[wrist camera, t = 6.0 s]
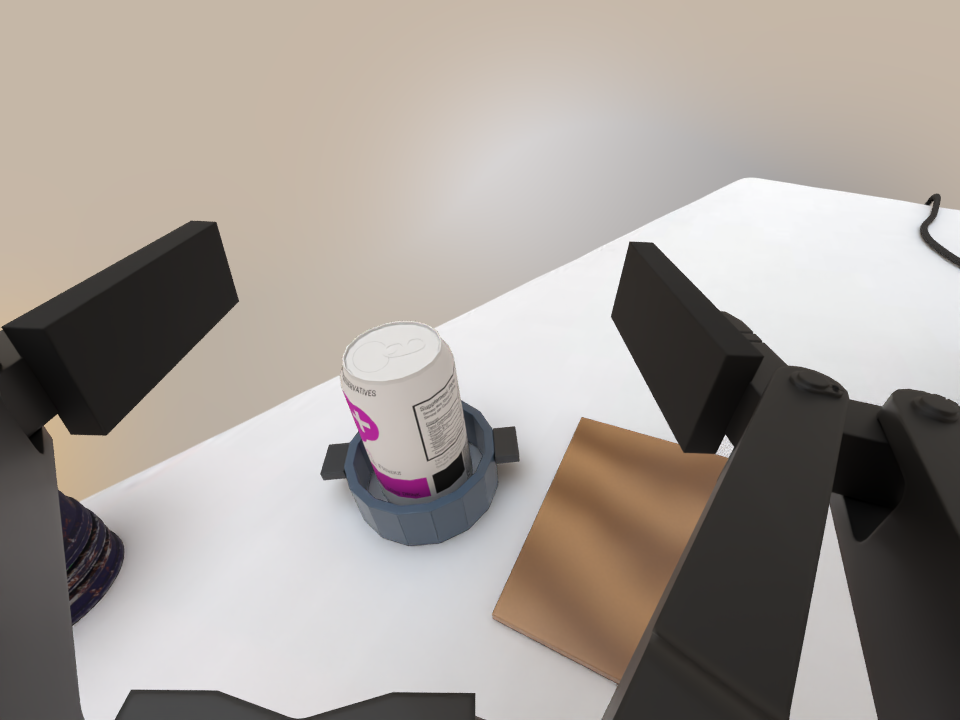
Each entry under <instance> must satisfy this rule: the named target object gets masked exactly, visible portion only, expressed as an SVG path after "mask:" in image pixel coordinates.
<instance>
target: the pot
mask: <svg viewBox="0 0 960 720" xmlns="http://www.w3.org/2000/svg"><path fill="white" fill-rule="evenodd" d="M461 404H462V409H463V415H464V421H465V427H466V433H467V439H468V441H469V442H470V443H472V444H473V445H475V446H476V447H478V449H479V450H480V452H481V453H482V455H483V456H482V459H481V461H480V463H479V465H478V468H477V470H476V472H475V473H474V474H473V475H472V476H471V477H470V478H469V479H468V480H467V481H466V482H465V483H464V484H463V485H462V486H460V487H459V488H458V489H457V490H456V491H454V492H452V493H450V494H448V495H445V496H443V497H441V498H439V499H436V500H434V501H432V502H430V503H423V504H412V505H402V506H400V505H397V504H393V503H390V502H386V501H383V500H379V499H376V498H374V497H373V496H372V495H371V494H370V493H369V492H368V486H369V481H370V476H371V474H372V473H373V471H374V469H373V466H372V464H371V461H370V459H369V456H368V454H367V451H366V449H365V446H364V443H363V441H362V438H361V436H360V433H359V431H358V433H357V434H356V435H355V437H354V438H353V439H352V441H351V442H350V443H342V444H332V445H329V447H328V450H327V453H326V457H325V460H324V463H323V467H322V470H321V473H320V474H321V476H322V478H323V480H332V479H342V478H347V481H348V484H349V488H350V490H351V492H352V495H353V497H354V499H355V501H356V503H357V505H358V507H359V509H360V512H361V514H362V516H363V518H364V520H365V521H366V522H367V523H368V524H369V525H370V526H371V527H372V528H373V529H374V530H375V531H376V532H377V533H378V534H379V535H380V536H381V537H383V538H386V539H389V540H392V541H395V542H398V543H402V544H405V545H408V546H409V545H410V546H413V545H424V544H434V543H441V542H443V541H445V540H448V539H450V538H452V537H454V536H456V535H458V534H460V533H462V532H464V531H466V530H468V529H469V528H470V527H471V526H472V525H473V524H474V523H475V522H476V521H477V520H478V519H479V518H480V517H481V516H482V515H483V514H484V513H485V512H486V511H487V510H488V508H489V507H490V504H491V501H492V499H493V496H494V494H495V491H496V488H497V486H498V476H497V465H496V464H498V463H509V462H519V450H518V443H517V436H516V429H515V426H514V427H504V428H494V429H493V430H492V428H491V427H490V425H489V424H488V422H487V421H486V419H485V418H484V416H483V415H482V413H481V412H480V411H478V410H477V409H475V408H473V407H472V406H470V405H468V404H467V403H465V402H463V401H461Z"/></svg>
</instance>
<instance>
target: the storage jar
mask: <svg viewBox="0 0 960 720" xmlns="http://www.w3.org/2000/svg"><path fill="white" fill-rule="evenodd" d="M58 497H59V506H60V516H61V525H62V535H63V545H64V554H65V564H66V573H67V583H68V592H69V602H70V611H71V621H72V625H73V624H74V623H76V622H77V621H78V620H79V619H80V618H82V617H83V616H84V615H85V614H86V613H87V612H88V611H89V610H90V609H91V608H92V607H94V606H95V604H96V603H97V602H98V601H99V600H100V599H101V598H102V597H103V595H104V594H105V593H106V591H107V590H108V589H109V587H110V586H111V585H112V583H113V581H114V580H115V578H116V576H117V574H118V572H119V570H120V568H121V565H122V562H123V557H124V546H123V543H122V541H121V539H120V538H119V537H118V536H117V535H116V534H115V533H113V532H112V531H110V530H109V529H108V528H107V527H106V525H104V522H103V521H102V520H101V519H100V518H99V517H98V516H97V515H96V514H94V513H93V512H92V511H90V510H89V509H87V508H85V507H84V506H83V505H82V504H80V503H79V502H78V501H77V500H75V499H74V498H72V497H68V496H65V495H64V494H63V493H62V492H61V491H59V490H58Z"/></svg>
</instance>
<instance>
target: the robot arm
mask: <svg viewBox="0 0 960 720" xmlns="http://www.w3.org/2000/svg"><path fill="white" fill-rule="evenodd" d="M940 200H941V197H940V195H939V194H934V195H932V196H931V197H930V198H929V199H928V201H927V202H926V203H925V204H924V205H928V206H930V205H931V203H932V202H933V201H934V203H933V208H932V211H931V214H930V216H929V217H928V218H927V219H926V220H925V221H924V222H923V223H922V225H921V228H920V232H921V235H922V237H923V238H924V240H925V241H926V242H927V243H928V244H929V245H930V246H931V247H932V248H934V249H935V250H936V251H937V252H939V253H940V254H941V255H943V256H944V257H946V258H947V259H949V260H950V261H952V262H953V263H955V264H957V265H959V266H960V258H959V257H957V256H956V255H954V254H953V253H951V252H950V251H948V250H947V249H945V248H944V247H943V246H941V245H940V244H939V243H937V242H936V241H935V240H934V239H933V238H932V237H931V236H930V234H929V232H928V229H927V227H928V225H929V224H930V223H931V222H932V221H933V220H934V219H935V218H936V216H937V213H938V209H939V205H940ZM238 302H239V300H238V297H237V293H236V289H235V286H234V282H233V279H232V275H231V272H230V268H229V265H228V261H227V258H226V254H225V251H224V247H223V244H222V240H221V237H220V233H219V230H218V226H217V223H216V222H207V221H190V222H188V223H186V224H185V225H183V226H181V227H179V228H177V229H176V230H174V231H172V232H170V233H168V234H167V235H165V236H163V237H161V238H160V239H158V240H156V241H154V242H152V243H151V244H149V245H147V246H145V247H143V248H142V249H140V250H138V251H137V252H134V253H133V254H131V255H129V256H127V257H126V258H124V259H122V260H120V261H118V262H117V263H115V264H113V265H111V266H110V267H108V268H106V269H104V270H102V271H101V272H99V273H97V274H95V275H93V276H92V277H90V278H88V279H86V280H85V281H83V282H81V283H79V284H77V285H75V286H74V287H72V288H70V289H68V290H67V291H65V292H63V293H61V294H59V295H58V296H56V297H54V298H52V299H50V300H49V301H47V302H45V303H43V304H42V305H40V306H38V307H36V308H34V309H33V310H31V311H29V312H28V313H26V314H24V315H22V316H20V317H18V318H16V319H15V320H13V321H11V322H9V323H7V324H6V325H4V326H2V329H3V330H1V331H0V720H84V717H83V714H82V710H81V705H80V698H79V688H78V678H77V669H76V659H75V650H74V640H73V631H72V621H71V611H70V602H69V592H68V583H67V573H66V564H65V554H64V545H63V535H62V525H61V516H60V506H59V497H58V487H57V478H56V468H55V458H54V449H53V439H52V437H51V436H50V434H49V433H48V432H47V430H46V429H45V427H44V425H45V424H46V423H47V422H48V421H50V419H52V418H53V417H54V416H55V415H57V414H58V415H59V417H60V418H61V420H62V421H63V423H64V425H65V426H66V428H67V429H68V431H69V432H70V434H71V435H73V434H74V435H107V434H108V433H109V432H110V431H111V430H112V429H113V428H114V427H115V426H116V425H117V424H118V423H119V422H120V421H121V420H122V419H123V418H124V417H125V416H126V415H127V414H128V413H129V412H130V411H131V410H132V409H133V408H134V407H135V406H136V405H137V404H138V403H139V402H140V401H141V400H142V399H143V398H144V397H145V396H146V395H147V394H148V393H149V392H150V391H151V390H152V389H153V388H154V387H155V386H156V385H157V384H158V383H159V382H160V381H161V380H162V379H163V378H164V377H165V376H166V374H167V373H168V372H170V371H171V370H172V369H173V368H174V367H175V366H176V364H178V362H179V361H180V360H181V359H182V358H183V357H184V356H185V355H186V354H187V353H188V352H189V351H190V350H191V349H192V348H193V347H194V346H195V345H196V344H197V343H198V342H199V341H200V340H201V339H202V338H203V337H204V336H205V335H206V334H207V333H208V332H209V331H210V330H211V329H212V328H213V327H214V326H215V325H216V324H217V323H218V322H219V321H220V320H221V319H222V318H223V317H224V316H225V315H226V314H227V313H228V312H229V311H230V310H231V309H232V308H233V307H234V306H235V305H236V304H237V303H238ZM611 318H612V320H613V321H614V323H615V325H616V327H617V329H618V331H619V333H620V335H621V336H622V338H623V340H624V342H625V344H626V346H627V348H628V350H629V351H630V353H631V355H632V357H633V359H634V361H635V363H636V365H637V366H638V368H639V370H640V372H641V374H642V376H643V378H644V380H645V382H646V383H647V385H648V387H649V389H650V391H651V393H652V395H653V397H654V398H655V400H656V402H657V404H658V406H659V408H660V410H661V412H662V413H663V415H664V417H665V419H666V421H667V423H668V425H669V427H670V429H671V430H672V432H673V434H674V436H675V438H676V440H677V442H678V444H679V445H680V447H681V449H682V451H683V453H700V454H716V452H717V450H718V448H719V446H720V444H721V442H722V440H723V438H724V436H725V434H726V436H727V437H728V439H729V440H730V442H731V443H732V445H733V446H734V449H733V451H732V453H731V454H730V456H729V458H728V460H727V462H726V464H725V466H724V468H723V470H722V471H721V473H720V475H719V477H718V479H717V483H716V485H715V487H714V489H713V491H712V493H711V495H710V497H709V499H708V501H707V503H706V506H705V508H704V510H703V512H702V514H701V516H700V518H699V520H698V522H697V524H696V526H695V528H694V530H693V532H692V534H691V536H690V538H689V541H688V543H687V545H686V547H685V549H684V551H683V553H682V555H681V557H680V559H679V561H678V563H677V565H676V567H675V569H674V571H673V573H672V576H671V578H670V580H669V582H668V584H667V586H666V588H665V590H664V592H663V594H662V596H661V598H660V600H659V602H658V604H657V606H656V609H655V611H654V613H653V615H652V617H651V619H650V621H649V623H648V625H647V627H646V629H645V631H644V633H643V635H642V637H641V639H640V641H639V644H638V646H637V648H636V650H635V652H634V654H633V656H632V658H631V660H630V662H629V664H628V666H627V668H626V670H625V672H624V674H623V676H622V679H621V681H620V683H619V685H618V687H617V689H616V691H615V693H614V695H613V697H612V699H611V701H610V703H609V705H608V707H607V709H606V711H605V713H604V716H603V718H602V720H789V717H790V709H791V704H792V698H793V693H794V688H795V683H796V677H797V672H798V667H799V661H800V656H801V651H802V646H803V640H804V635H805V630H806V624H807V619H808V614H809V609H810V603H811V598H812V593H813V587H814V582H815V577H816V572H817V566H818V561H819V556H820V550H821V545H822V540H823V535H824V529H825V524H826V519H827V514H828V508H829V503H830V508H831V512H832V517H833V521H834V525H835V530H836V534H837V539H838V543H839V548H840V552H841V557H842V561H843V566H844V570H845V574H846V579H847V583H848V588H849V592H850V597H851V601H852V606H853V610H854V615H855V619H856V623H857V628H858V632H859V637H860V641H861V646H862V650H863V655H864V659H865V664H866V668H867V672H868V677H869V681H870V686H871V690H872V695H873V699H874V704H875V708H876V713H877V717H878V720H960V406H958V404H957V403H956V402H954V401H952V400H950V399H947V400H946V398H945V397H942V396H940V395H937V394H930V393H927V392H924V391H918V390H912V389H898V390H896V391H895V392H893V393H892V394H891V396H890V397H889V398H888V400H887V401H886V402H885V404H884V405H883V406H877V405H873V404H868V403H864V402H859V401H854V400H850V399H849V396H848V392H847V391H846V390H845V389H844V388H843V386H842V385H841V384H839V383H838V382H836V381H835V380H833V379H832V378H830V377H828V376H826V375H824V374H822V373H819V372H817V371H814V370H811V369H807V368H803V367H797V366H788V365H787V364H786V363H785V362H784V361H783V360H782V359H780V358H779V357H778V356H777V355H776V354H775V353H774V352H773V351H772V350H771V349H770V348H769V347H768V346H767V345H766V344H765V343H762V340H761V339H760V338H759V337H758V336H757V335H756V334H753V331H752V330H751V329H750V328H749V327H748V326H747V325H746V324H744V323H743V322H742V321H741V320H739V319H737V318H736V317H734V316H732V315H730V314H728V313H727V312H723V311H719V310H718V309H717V308H716V307H715V306H714V305H713V303H712V302H711V301H710V300H709V299H708V298H707V297H706V296H705V295H704V294H703V293H702V292H701V291H700V290H699V289H698V288H697V287H696V286H695V285H694V284H693V283H692V282H691V281H690V280H689V279H688V278H687V277H686V276H685V275H684V274H683V273H682V272H681V271H680V270H679V269H678V268H677V267H676V266H675V265H674V264H673V263H672V262H671V261H670V260H669V259H668V258H667V257H666V256H665V255H664V254H663V253H662V252H661V250H660V249H659V248H658V247H657V246H656V245H655V244H654V243H648V242H629V246H628V250H627V254H626V258H625V262H624V266H623V270H622V274H621V278H620V282H619V286H618V290H617V294H616V298H615V302H614V306H613V310H612V314H611ZM115 720H485V719H482V718H480V717H477V716H475V693H407V692H392V693H389V694H385V695H382V696H379V697H375V698H372V699H369V700H365V701H362V702H358V703H355V704H352V705H348V706H345V707H341V708H338V709H335V710H331V711H328V712H324V713H321V714H318V715H314V716H311V717H307V718H302V719H296V718H290V717H287V716H285V715H282V714H279V713H277V712H274V711H271V710H268V709H266V708H263V707H260V706H258V705H255V704H252V703H249V702H247V701H244V700H241V699H239V698H236V697H233V696H230V695H228V694H225V693H222V692H220V691H208V690H131V691H130V693H129V695H128V696H127V698H126V700H125V702H124V704H123V706H122V707H121V709H120V711H119V713H118V715H117V717H116V718H115Z"/></svg>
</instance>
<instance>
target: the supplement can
mask: <svg viewBox="0 0 960 720" xmlns="http://www.w3.org/2000/svg"><path fill="white" fill-rule="evenodd" d="M340 380H341V388H342V390H343V393H344V395H345V398H346V400H347V403H348V405H349V408H350V410H351V413H352V416H353V418H354V421H355V423H356V426H357V428H358V431H359V433H360V436H361V438H362V441H363V443H364V446H365V449H366V451H367V454H368V456H369V459H370V461H371V464H372V466H373V469H374V471H375V474H376V477H377V479H378V482H379V484H380V487H381V489H382V492H383V494H384V496H385V498H386V499H387V500H388V502H390V503H393V504H397V505H400V506H402V505H412V504H423V503H430V502H432V501H434V500H436V499H439V498H441V497H443V496H445V495H448V494H450V493H452V492H454V491H456V490H457V489H458V488H459V487H460V486H462V485H463V484H464V483H465V482H466V481H467V480H468V479H469V478H470V477H471V476H472V462H471V456H470V450H469V444H468V439H467V433H466V427H465V421H464V415H463V409H462V404H461V398H460V392H459V386H458V380H457V374H456V368H455V363H454V357H453V354H452V352H451V350H450V348H449V346H448V344H447V343H446V342H445V341H444V340H443V339H442V338H441V337H440V336H439V334H438V331H436V330H435V329H433V328H432V327H430V326H429V325H427V324H423V323H419V322H415V321H398V322H391V323H386V324H382V325H379V326H377V327H374V328H371V329H369V330H367V331H365V332H364V333H362V334H361V335H359V336H357V337H356V338H355V339H354V340H353V341H352V342H351V343H350V344H349V345H348V346H347V347H346V350H345V352H344V354H343V365H342V369H341V372H340Z"/></svg>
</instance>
